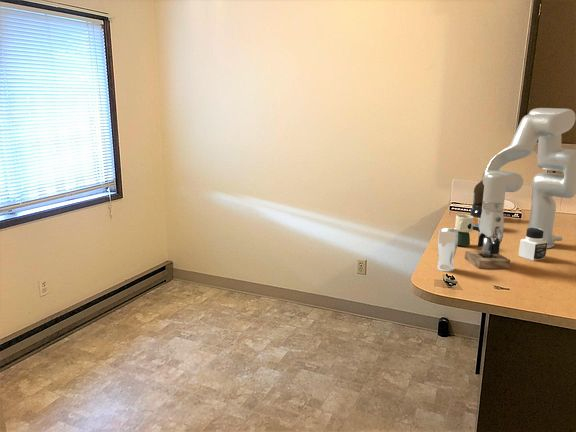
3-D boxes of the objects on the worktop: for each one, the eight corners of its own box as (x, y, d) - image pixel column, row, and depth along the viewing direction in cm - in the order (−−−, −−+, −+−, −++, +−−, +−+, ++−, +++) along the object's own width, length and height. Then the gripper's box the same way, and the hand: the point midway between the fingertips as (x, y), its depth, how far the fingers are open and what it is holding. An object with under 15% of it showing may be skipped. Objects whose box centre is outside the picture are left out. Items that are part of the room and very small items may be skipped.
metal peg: (488, 261, 194) (491, 236, 191) (494, 264, 190) (496, 239, 188) (479, 261, 193) (481, 236, 191) (484, 264, 189) (486, 239, 187)
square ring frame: (493, 258, 198) (494, 250, 197) (509, 267, 186) (510, 260, 186) (464, 258, 197) (465, 251, 196) (478, 268, 185) (479, 260, 184)
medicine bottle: (533, 261, 195) (537, 231, 192) (518, 256, 201) (521, 227, 198) (545, 258, 198) (549, 229, 195) (529, 254, 204) (533, 225, 201)
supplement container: (482, 232, 237) (484, 207, 234) (464, 227, 246) (466, 203, 243) (496, 229, 242) (499, 205, 240) (478, 225, 251) (481, 201, 248)
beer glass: (452, 273, 179) (456, 233, 176) (433, 269, 183) (436, 230, 179) (457, 268, 185) (460, 229, 182) (438, 264, 189) (441, 226, 185)
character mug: (466, 249, 209) (470, 219, 206) (449, 246, 212) (452, 217, 209) (473, 243, 217) (476, 215, 214) (457, 241, 221) (460, 212, 218)
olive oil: (495, 219, 264) (500, 172, 259) (488, 222, 256) (494, 174, 250) (474, 216, 271) (479, 170, 265) (468, 219, 263) (472, 172, 257)
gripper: (514, 211, 178) (509, 256, 182) (491, 201, 195) (486, 243, 199) (494, 211, 178) (489, 257, 182) (472, 201, 194) (468, 243, 198)
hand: (487, 249), depth 190 cm, fingers open, 9 cm apart
